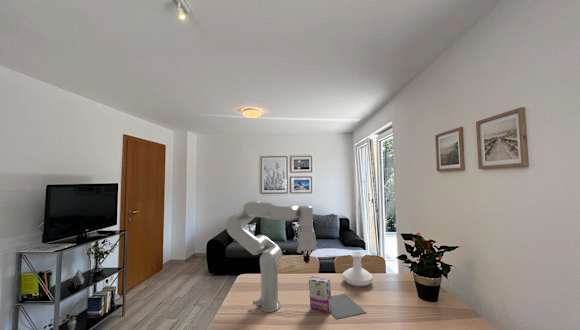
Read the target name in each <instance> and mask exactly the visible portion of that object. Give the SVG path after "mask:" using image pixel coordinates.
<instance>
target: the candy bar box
mask: <svg viewBox="0 0 580 330" xmlns="http://www.w3.org/2000/svg"><path fill="white" fill-rule="evenodd" d="M331 288H332V287H331V279H330V278H325V277H318V276H311V277H310V278H309V279H308V289H309V306H310V308H309V309H310V310H314V311H318V312H322V313H327V314H330V311H331V309H332V304H331V296H332V291H331Z"/></svg>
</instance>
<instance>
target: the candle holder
mask: <svg viewBox="0 0 580 330" xmlns="http://www.w3.org/2000/svg"><path fill="white" fill-rule="evenodd" d="M349 255H350V256H351V258H352V263H353V265H352V267H351V268H348V269H346V270H345V271H343V272H342V279H343V280H344V281H345V282H346V283H347V284H349V285H350V286H354V287H366V286H369V285H370V284H372V282H373V275H372V274H371V273H370V272H369V271H368V270H366V269H364V268H363V267H362V258H364V257H365V256H366V254H365V253H364V252H358V251H353V252H349Z"/></svg>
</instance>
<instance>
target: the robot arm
mask: <svg viewBox="0 0 580 330" xmlns="http://www.w3.org/2000/svg"><path fill="white" fill-rule="evenodd" d="M313 210H314V209H313V207H312V206H311V205H296V204H292V205H288V206H281V205H280V206H279V205H275V204H273V203H271V202H262V201H259V200H251V201H247V202H246V203H244V205H243V208H242V211H240V212H237V213H234V214H232V215H229V217H228V218H227V220H226V223H225V224H226V225H225V227H226V232H227V234H228V235H229V236H230V237H231V238H232V239H234V241H236V242H237V243H238V244H240V246H241V247H243V248H244V249H245V250H246V251H248V252H249V253H250V254H252V255H253V256H256V255H259V254H260V253H261V255H260V257H259V266H260V268H259V269H260V297H259V298H258V299H257V300H252V305H253V306H255V307H258V310H260V312H263V313H273V312H277V311H278V310H280V308H281V306H282V305H281V301H279V299H278V297H279V293H278V291H279V289H278V288H279V287H278V285H279V281H278V279H279V278H278V277H279V275H278V273H279V272H278V267H277V264H278V262H279V261H280V260H281V259H282V258H283V251H282V249H281V247H280V246H279V245H278V244H276V243H275V242H274V241H272V240H271V239H270V238H269V237H267V236H266V235H263V234H258V235H256V236H255V235H254V234H252V233H251V232H250V231H248V230H247V229H245V228H243V227H244V226H246V225H248V224H249V223H251V221H253V220H254V219H255V218H267V219H271V220H277V221H282V222H283V221H284V222H285V221H286V222H291V221H294V220H295V219H298V223H299V225H298V227H296V230H298V231H297V237H296V248H297V249H296V252H297V253H298V254H302V255H303V259H302V260H303V262H304V263H305V264H309V263H310V259H311V258H310V256H311V254H312V253H313V252H315V251H317V250H316V249H317V238H316V233H315V232H316V231H315V230H314V211H313Z"/></svg>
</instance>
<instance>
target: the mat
mask: <svg viewBox="0 0 580 330" xmlns="http://www.w3.org/2000/svg"><path fill="white" fill-rule="evenodd" d="M331 304H332V309H331V311H330V312H329V314H331V315H332V316H333V317H334V318H335V319H336V320H339V319H344V318H349V317H354V316H355V317H356V316H359V315H364V314H367V311H365V310H364V308H362V307H361V306H360V305H358V304H357V302H355V301H354V300H353V299H352V298H351V297H349V296H348V295H347V294H346V293H340V294H335V295H331Z"/></svg>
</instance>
